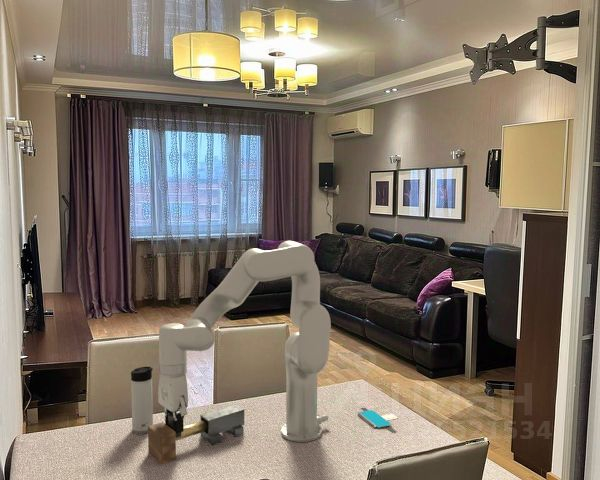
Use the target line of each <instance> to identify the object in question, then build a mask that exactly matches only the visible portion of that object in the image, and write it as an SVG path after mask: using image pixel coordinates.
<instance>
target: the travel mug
mask: <svg viewBox="0 0 600 480" xmlns="http://www.w3.org/2000/svg"><path fill="white" fill-rule="evenodd" d="M130 372H131V373H130V380H131V381H130V390H131V391H130V393H131V428H132V429H131V431H132V432H133V434H136V435H145V434H148V426H151V425H154V409H153V408H154V407H153V404H154V403H153V376H152V375H153V374H152V372H153V367H151V366H140V367H136V368H134V369H133V370H131V371H130Z"/></svg>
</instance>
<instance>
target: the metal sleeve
mask: <svg viewBox="0 0 600 480" xmlns="http://www.w3.org/2000/svg"><path fill="white" fill-rule="evenodd" d="M203 420H207V421H208V431H205V432H202V433H200V438H201V439H203V440H204V441H205V442H207V443H208V444H209V445H211V446H215V445H218V444H221V443H222V433H224V432H226V433H227V434H229V435H230V436H232V437H233V438H238V437H241V436H244V432H245V431H244V426H245V409H244V408H243V407H241V406H239V405H238V404H237V403H236V404H232V405H229V406H225V407H222V408H219V409H215V410H212V411H209V412H206V413H203V414H200V421H203Z"/></svg>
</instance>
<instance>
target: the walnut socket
mask: <svg viewBox="0 0 600 480" xmlns="http://www.w3.org/2000/svg"><path fill="white" fill-rule="evenodd" d="M147 438H148V439H147V441H148V442H147V444H148V449H147V450H148V454H149V456H151V457H152V458H153V459H154V460H155V461H156V462H157V463H159V464H160V465H164V464H167V463H170V462H172V461H175V460H177V450H176V449H177V448H176V447H177V445H176V444H177V441H176V432H175V431H174V430H172V429H171V428H170V427H168V426H167V425H166V424H165V422H163V421H162V422H158V423H155V424H153V425H151V426H148V433H147Z"/></svg>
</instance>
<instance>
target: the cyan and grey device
mask: <svg viewBox="0 0 600 480" xmlns="http://www.w3.org/2000/svg"><path fill="white" fill-rule="evenodd" d="M360 409H361V410H362V411H360V412H357V416H358V417H359V418H360V419H362V420H363V421H364V422H366V424H368V425H369V426H370V427H372V428H373V429H375V428H378V429H387V430H388V431H390V432H391V433H393V434H394V433H397V431H396V430H395V429H394V428H393V427H391V426H392V423H391V422H389V421H391V420H392V421H393V420H397V419H399V418H398V416H396V415H395V414H393V413H390V414H384V415H380V414H379V413H377V412H376V411H375V410H373V409H367V408H366V407H360Z"/></svg>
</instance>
